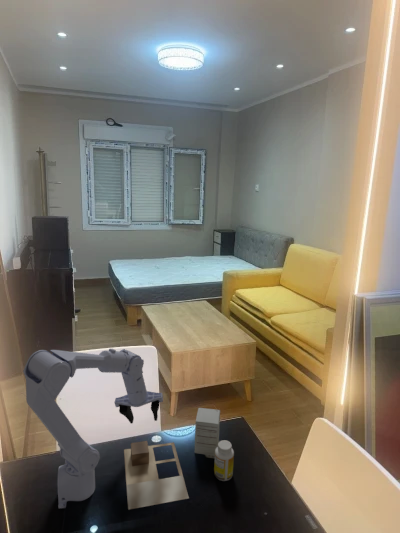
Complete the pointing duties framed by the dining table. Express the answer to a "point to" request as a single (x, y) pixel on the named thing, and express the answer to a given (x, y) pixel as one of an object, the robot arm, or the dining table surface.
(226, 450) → the supplement bottle
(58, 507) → the robot arm
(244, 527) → the dining table surface
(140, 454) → the walnut block
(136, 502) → the board
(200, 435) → the supplement box
